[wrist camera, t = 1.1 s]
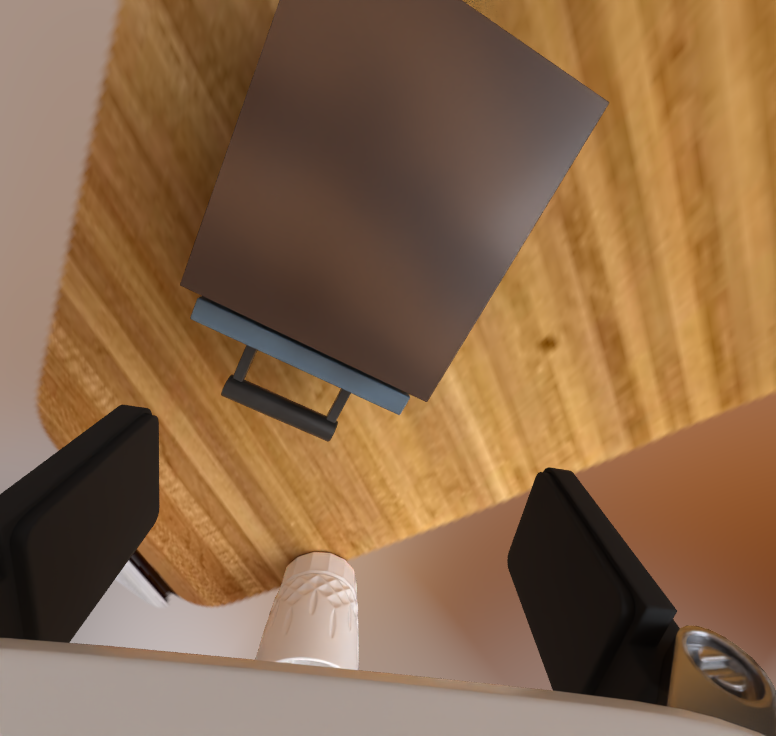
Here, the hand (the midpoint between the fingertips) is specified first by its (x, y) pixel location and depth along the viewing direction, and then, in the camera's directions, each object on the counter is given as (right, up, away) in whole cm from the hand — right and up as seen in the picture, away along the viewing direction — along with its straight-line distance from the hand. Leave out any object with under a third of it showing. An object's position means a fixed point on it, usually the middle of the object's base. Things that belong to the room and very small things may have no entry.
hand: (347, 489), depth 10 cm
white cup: (-5, -16, +28) cm, 33 cm away
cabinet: (0, +14, +17) cm, 22 cm away
